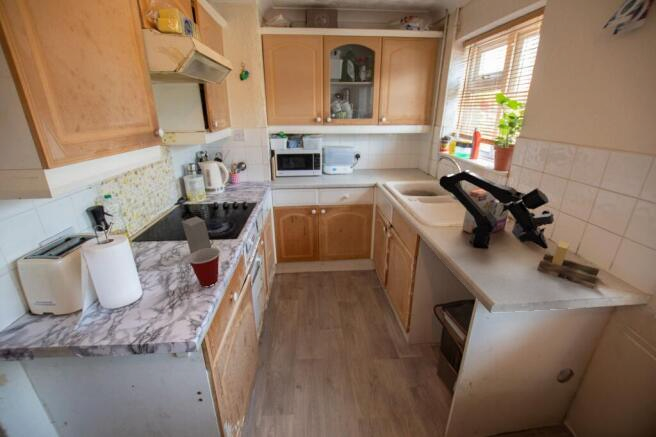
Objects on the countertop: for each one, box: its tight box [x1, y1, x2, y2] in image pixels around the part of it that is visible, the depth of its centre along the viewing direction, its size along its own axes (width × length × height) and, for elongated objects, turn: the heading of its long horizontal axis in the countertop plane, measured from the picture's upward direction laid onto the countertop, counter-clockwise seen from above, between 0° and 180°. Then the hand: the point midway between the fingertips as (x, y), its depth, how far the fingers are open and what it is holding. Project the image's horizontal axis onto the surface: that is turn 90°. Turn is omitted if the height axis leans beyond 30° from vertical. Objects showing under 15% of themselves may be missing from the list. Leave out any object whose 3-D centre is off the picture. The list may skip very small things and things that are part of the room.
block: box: [552, 240, 570, 266], centre depth 112 cm, size 3×6×9 cm, turn 135°
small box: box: [511, 219, 531, 242], centre depth 140 cm, size 11×6×10 cm, turn 168°
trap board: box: [536, 252, 600, 289], centre depth 112 cm, size 17×11×4 cm, turn 45°
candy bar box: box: [488, 199, 512, 234], centre depth 146 cm, size 11×5×16 cm, turn 117°
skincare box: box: [181, 216, 212, 254], centre depth 122 cm, size 8×7×16 cm
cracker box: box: [461, 188, 495, 234], centre depth 145 cm, size 14×6×21 cm, turn 118°
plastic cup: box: [186, 247, 221, 287], centre depth 103 cm, size 11×11×12 cm
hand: (546, 248), depth 115 cm, fingers closed
